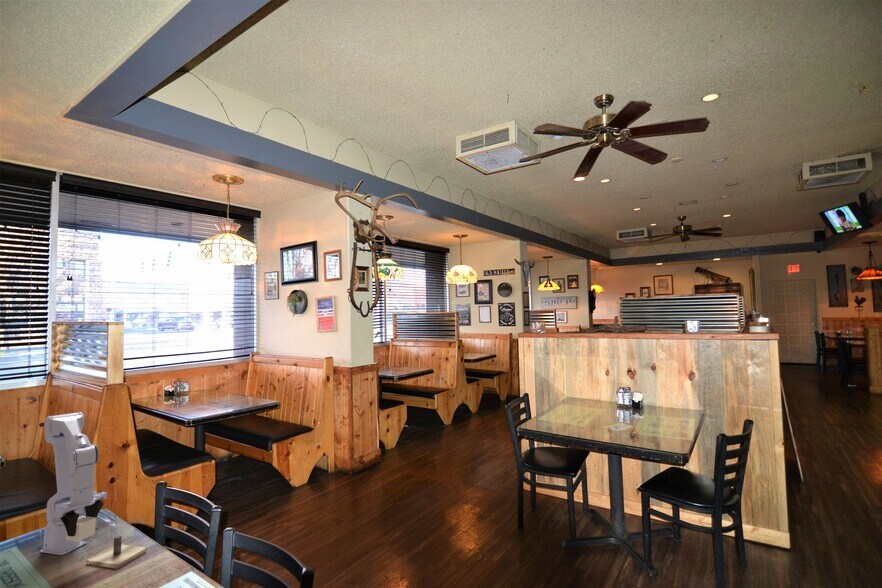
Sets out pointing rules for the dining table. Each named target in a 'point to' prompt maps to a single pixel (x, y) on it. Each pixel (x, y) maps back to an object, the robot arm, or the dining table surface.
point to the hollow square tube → (83, 529)
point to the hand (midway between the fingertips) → (80, 531)
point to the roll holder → (116, 555)
